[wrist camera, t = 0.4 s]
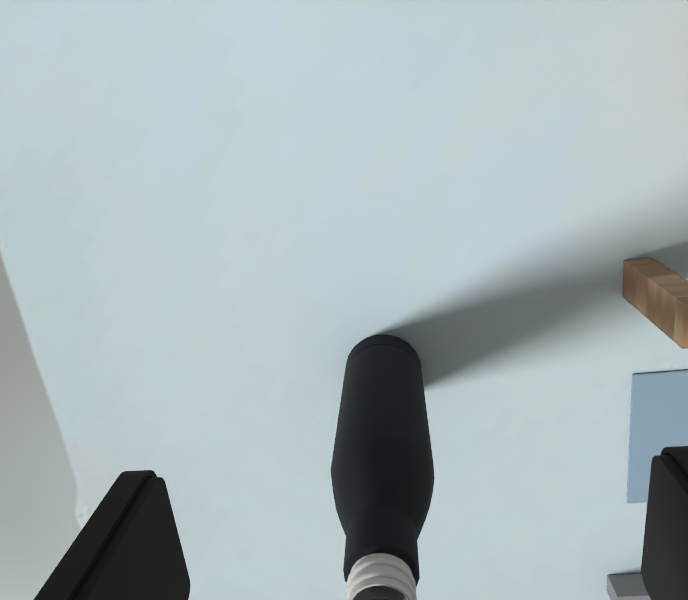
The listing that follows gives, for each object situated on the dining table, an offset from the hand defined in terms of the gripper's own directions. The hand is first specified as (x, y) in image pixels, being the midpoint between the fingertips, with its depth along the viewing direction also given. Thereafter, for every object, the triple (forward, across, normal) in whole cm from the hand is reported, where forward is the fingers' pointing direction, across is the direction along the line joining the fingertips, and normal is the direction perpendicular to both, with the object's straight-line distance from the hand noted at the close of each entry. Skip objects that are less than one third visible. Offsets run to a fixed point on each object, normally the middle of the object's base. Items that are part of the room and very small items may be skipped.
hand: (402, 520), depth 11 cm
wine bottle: (+35, +2, +15) cm, 38 cm away
